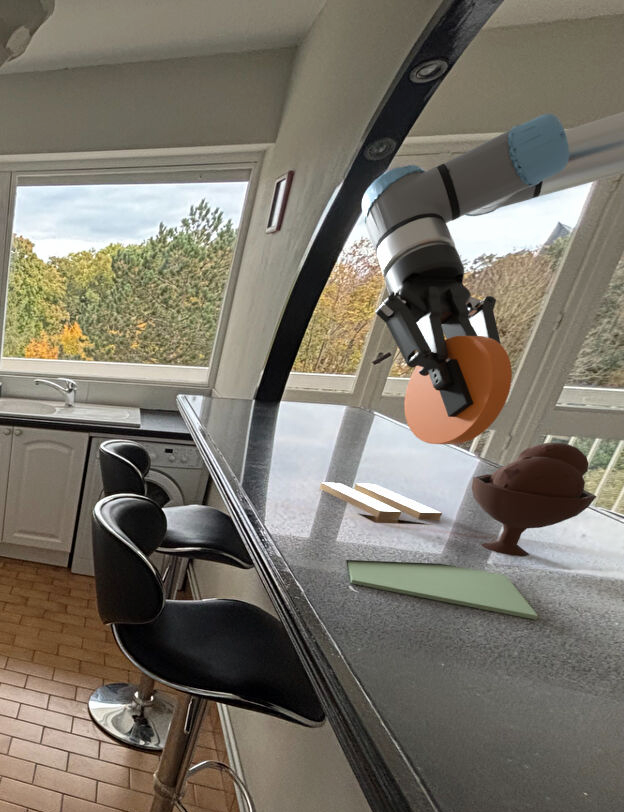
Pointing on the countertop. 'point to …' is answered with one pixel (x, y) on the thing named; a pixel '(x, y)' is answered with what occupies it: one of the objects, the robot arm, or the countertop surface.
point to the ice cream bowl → (533, 492)
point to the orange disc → (485, 382)
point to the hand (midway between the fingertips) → (472, 410)
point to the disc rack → (379, 509)
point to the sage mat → (443, 584)
